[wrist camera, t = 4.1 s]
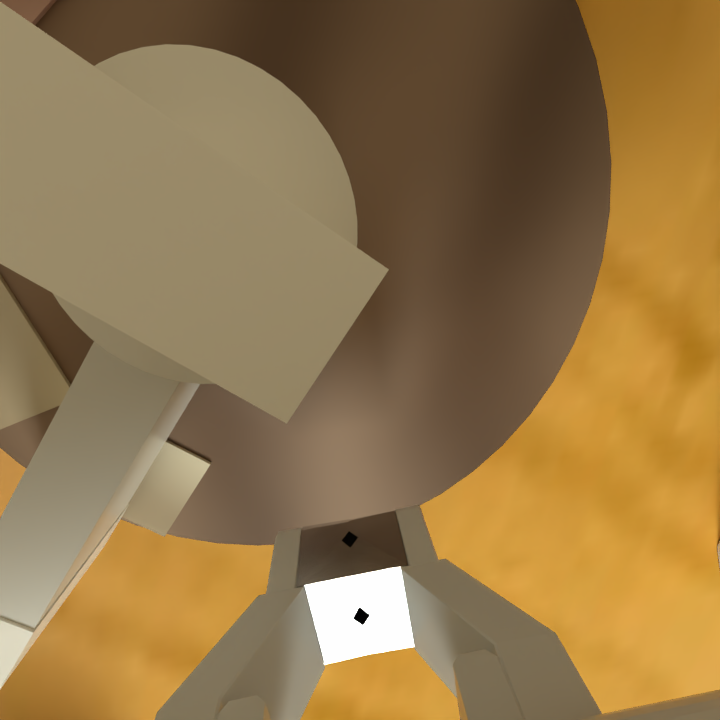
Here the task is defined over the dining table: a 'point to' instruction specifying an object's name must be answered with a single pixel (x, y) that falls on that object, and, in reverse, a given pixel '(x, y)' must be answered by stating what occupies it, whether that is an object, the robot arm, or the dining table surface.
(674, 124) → the dining table surface
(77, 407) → the cream toy mallet
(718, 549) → the foam cup
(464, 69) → the dial
